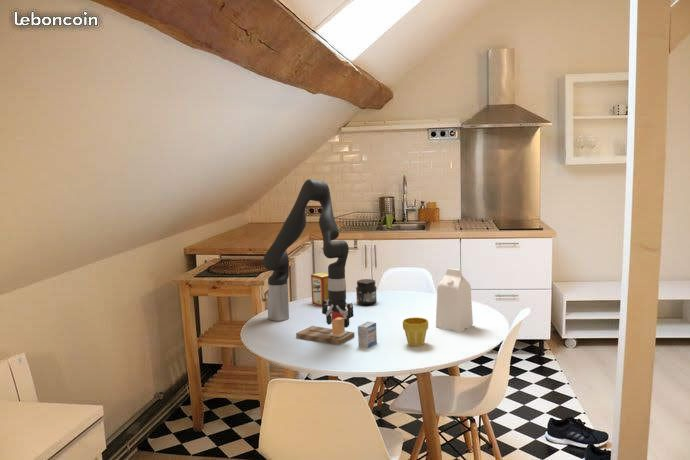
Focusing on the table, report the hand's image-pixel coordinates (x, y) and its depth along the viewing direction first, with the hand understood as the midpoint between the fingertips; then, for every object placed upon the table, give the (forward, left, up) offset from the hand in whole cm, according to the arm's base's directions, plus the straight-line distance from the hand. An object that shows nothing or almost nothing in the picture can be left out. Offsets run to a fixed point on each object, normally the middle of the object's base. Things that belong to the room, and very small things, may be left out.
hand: (337, 325), depth 256 cm
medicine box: (+14, 0, -6) cm, 16 cm away
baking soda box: (-39, +45, -6) cm, 60 cm away
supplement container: (-19, +56, -6) cm, 60 cm away
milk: (+36, +39, -6) cm, 54 cm away
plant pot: (+31, +10, -6) cm, 33 cm away
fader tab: (0, 0, -4) cm, 4 cm away
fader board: (-7, 0, -6) cm, 9 cm away
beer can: (-17, +26, -6) cm, 32 cm away
